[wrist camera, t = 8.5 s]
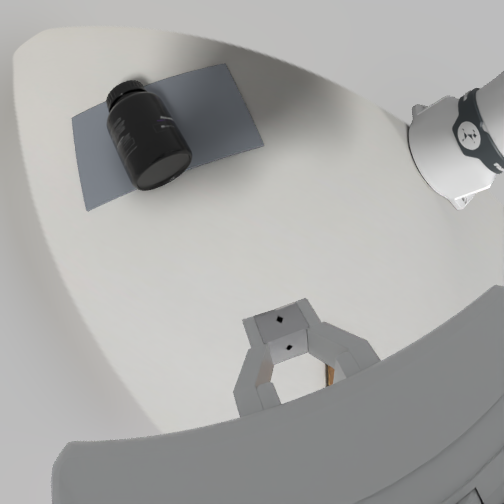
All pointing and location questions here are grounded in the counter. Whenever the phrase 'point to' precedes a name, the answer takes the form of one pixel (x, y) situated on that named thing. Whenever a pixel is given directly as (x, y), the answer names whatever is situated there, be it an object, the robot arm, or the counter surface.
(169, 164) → the supplement bottle
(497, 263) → the counter surface
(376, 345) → the counter surface
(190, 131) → the mat
